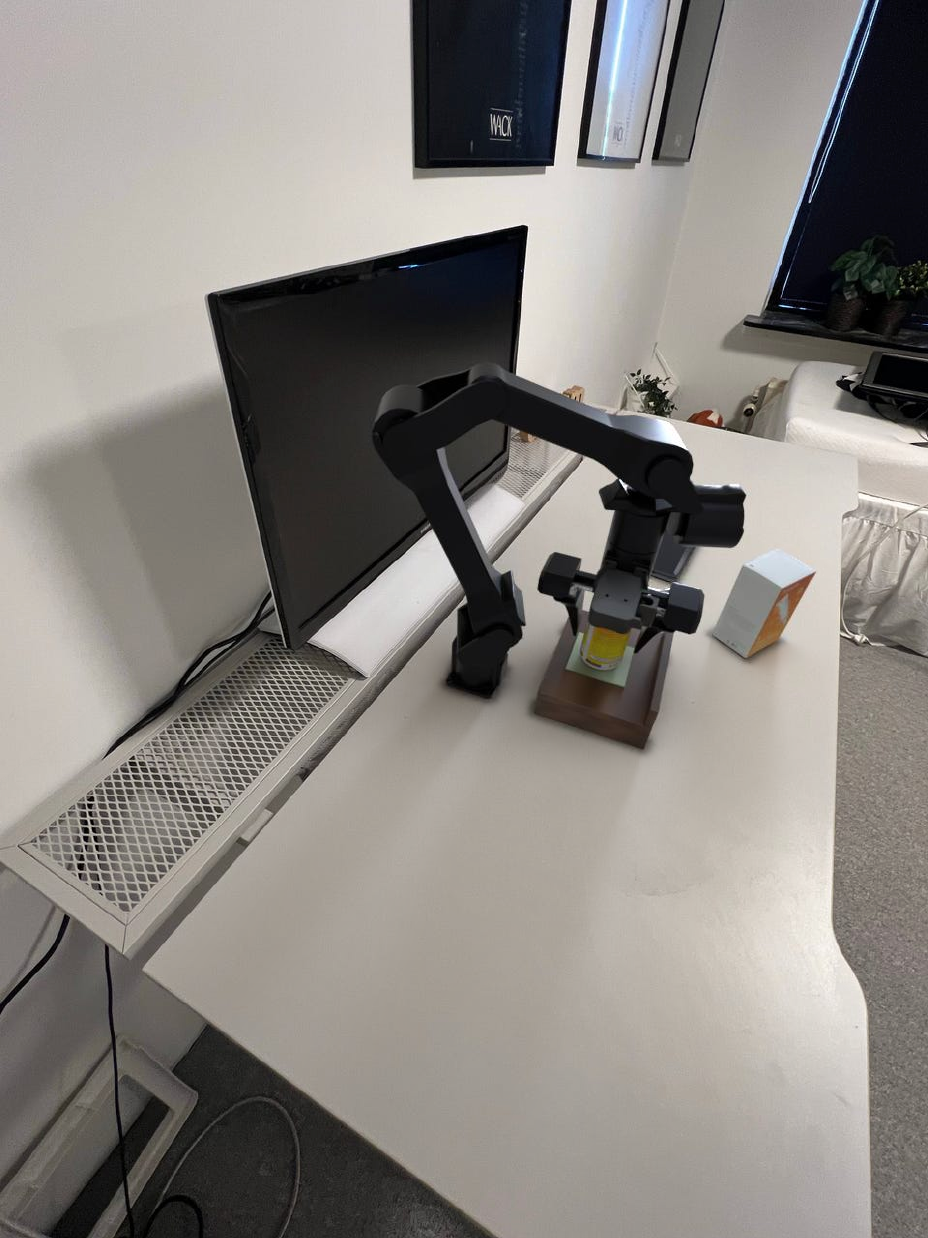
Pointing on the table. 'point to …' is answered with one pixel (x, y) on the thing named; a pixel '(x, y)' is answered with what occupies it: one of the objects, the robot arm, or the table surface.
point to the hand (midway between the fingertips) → (605, 642)
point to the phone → (671, 559)
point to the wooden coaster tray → (606, 687)
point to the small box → (762, 601)
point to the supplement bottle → (602, 647)
